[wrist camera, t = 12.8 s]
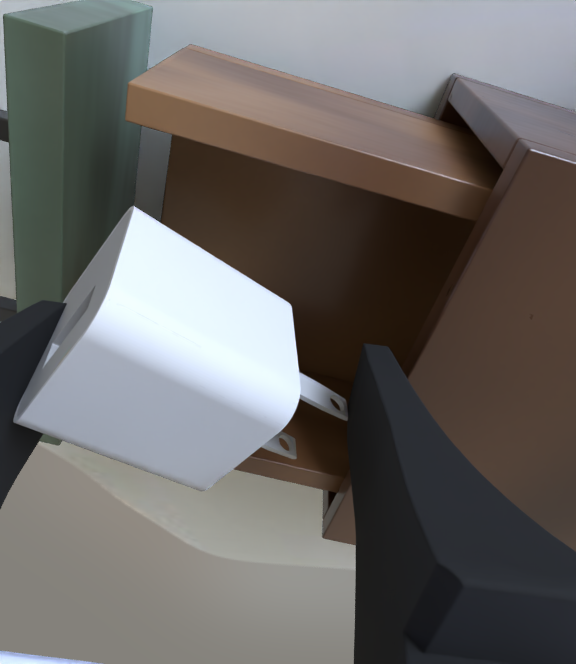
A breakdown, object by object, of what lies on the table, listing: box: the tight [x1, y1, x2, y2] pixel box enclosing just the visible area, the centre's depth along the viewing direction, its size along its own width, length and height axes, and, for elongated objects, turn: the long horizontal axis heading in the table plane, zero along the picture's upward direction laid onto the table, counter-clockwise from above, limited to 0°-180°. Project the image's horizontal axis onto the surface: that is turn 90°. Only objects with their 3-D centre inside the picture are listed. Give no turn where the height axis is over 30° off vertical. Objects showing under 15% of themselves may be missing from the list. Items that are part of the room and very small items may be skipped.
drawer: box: [0, 0, 503, 493], centre depth 16 cm, size 18×12×6 cm, turn 75°
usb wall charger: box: [13, 206, 348, 491], centre depth 13 cm, size 4×7×4 cm, turn 50°
